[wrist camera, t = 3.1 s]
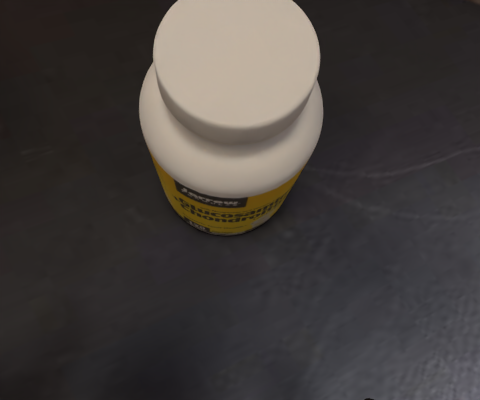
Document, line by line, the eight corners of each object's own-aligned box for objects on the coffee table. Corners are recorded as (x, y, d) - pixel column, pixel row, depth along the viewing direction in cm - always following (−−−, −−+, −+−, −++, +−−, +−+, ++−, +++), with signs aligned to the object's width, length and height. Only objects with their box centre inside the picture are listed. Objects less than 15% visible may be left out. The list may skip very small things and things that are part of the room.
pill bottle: (150, 224, 23) (86, 132, 12) (180, 109, 24) (149, -68, 13) (275, 250, 23) (334, 184, 12) (296, 134, 24) (366, -23, 13)
